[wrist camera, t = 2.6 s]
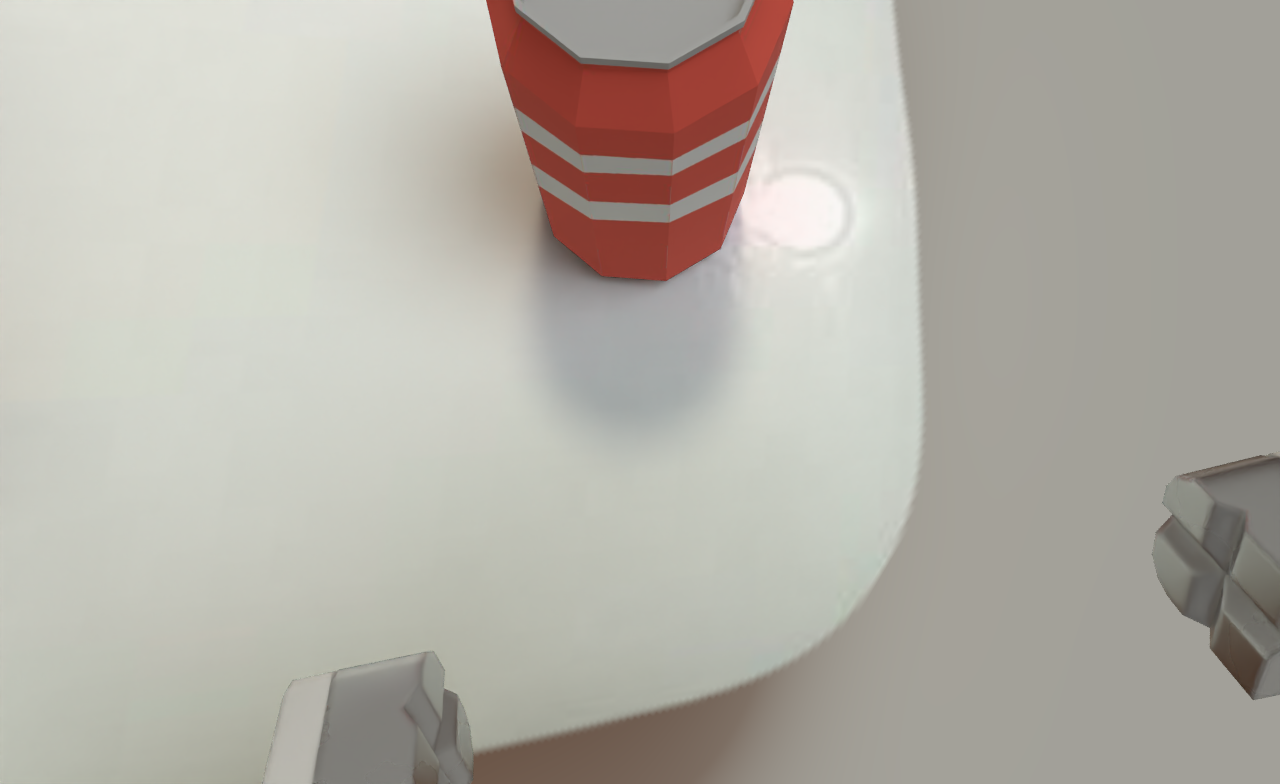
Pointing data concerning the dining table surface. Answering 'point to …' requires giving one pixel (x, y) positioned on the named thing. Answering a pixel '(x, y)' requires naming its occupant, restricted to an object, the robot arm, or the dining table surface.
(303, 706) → the robot arm
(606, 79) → the beverage can
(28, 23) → the dining table surface
